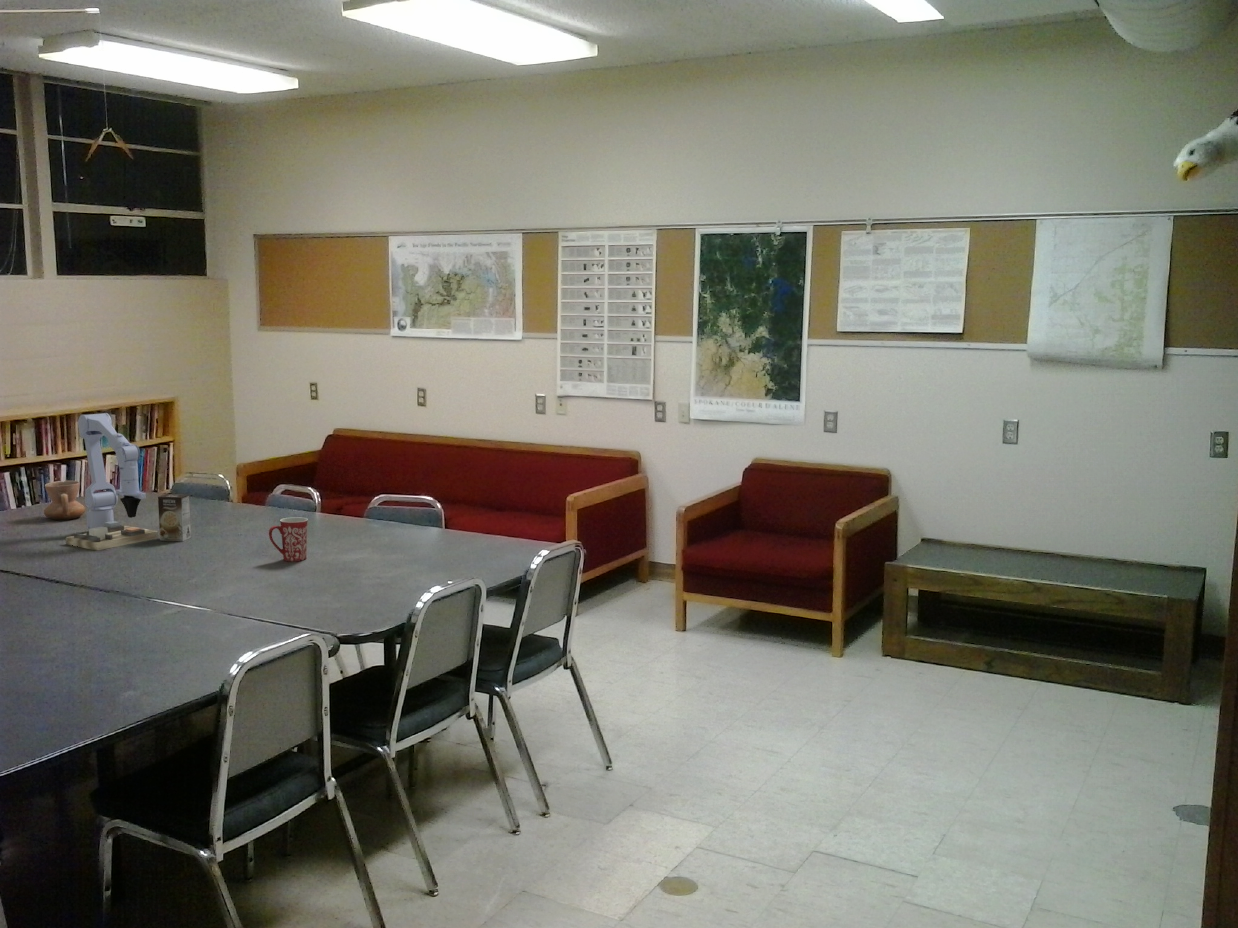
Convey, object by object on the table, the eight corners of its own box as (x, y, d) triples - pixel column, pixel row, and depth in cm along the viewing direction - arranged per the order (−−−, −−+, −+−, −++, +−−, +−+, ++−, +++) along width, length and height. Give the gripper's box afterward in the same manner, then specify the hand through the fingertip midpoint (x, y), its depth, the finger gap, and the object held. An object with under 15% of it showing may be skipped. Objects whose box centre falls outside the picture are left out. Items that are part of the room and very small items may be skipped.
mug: (306, 555, 367) (305, 515, 366) (311, 560, 359) (310, 520, 357) (268, 558, 362) (266, 519, 360) (272, 564, 354) (270, 524, 352)
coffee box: (158, 540, 388) (156, 496, 386) (168, 537, 395) (165, 493, 392) (183, 541, 387) (181, 497, 385) (192, 537, 394) (189, 494, 391)
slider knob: (89, 540, 377) (88, 528, 376) (102, 537, 381) (102, 526, 380) (94, 541, 375) (94, 529, 375) (108, 538, 379) (107, 527, 379)
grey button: (104, 526, 393) (104, 522, 392) (113, 524, 396) (113, 520, 396) (110, 527, 391) (110, 523, 391) (119, 526, 394) (119, 521, 394)
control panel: (66, 544, 382) (65, 533, 381) (127, 532, 402) (126, 521, 402) (97, 550, 373) (96, 539, 372) (158, 537, 393) (157, 527, 392)
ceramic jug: (45, 515, 432) (41, 480, 430) (85, 512, 439) (82, 478, 436) (44, 525, 416) (40, 488, 414) (86, 521, 423) (83, 485, 420)
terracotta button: (125, 533, 387) (125, 529, 386) (134, 531, 390) (134, 527, 390) (131, 534, 385) (131, 530, 385) (140, 532, 388) (140, 528, 388)
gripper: (106, 479, 385) (109, 516, 387) (132, 482, 377) (134, 521, 379) (124, 476, 391) (127, 513, 393) (150, 480, 383) (152, 517, 385)
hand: (131, 517), depth 386 cm, fingers closed
